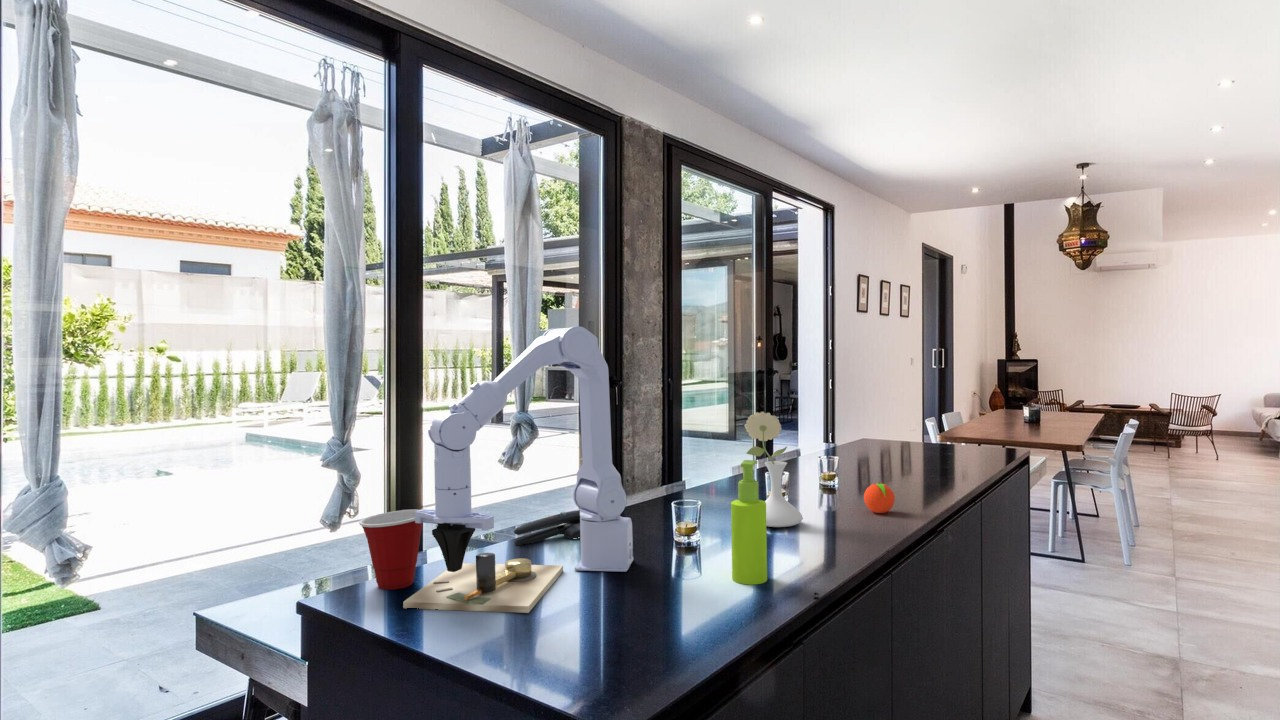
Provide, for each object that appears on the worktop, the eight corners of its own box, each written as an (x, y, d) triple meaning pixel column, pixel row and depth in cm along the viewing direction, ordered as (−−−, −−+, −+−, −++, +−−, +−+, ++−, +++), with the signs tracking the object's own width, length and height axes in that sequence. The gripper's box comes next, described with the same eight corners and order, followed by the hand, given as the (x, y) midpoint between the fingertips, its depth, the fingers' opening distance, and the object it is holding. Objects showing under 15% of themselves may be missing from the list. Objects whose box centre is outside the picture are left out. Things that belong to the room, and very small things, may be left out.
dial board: (563, 571, 133) (563, 564, 133) (528, 612, 112) (528, 604, 112) (456, 568, 136) (456, 561, 136) (403, 608, 115) (403, 600, 115)
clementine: (900, 517, 170) (900, 486, 170) (870, 517, 170) (869, 486, 170) (889, 509, 178) (889, 479, 178) (860, 509, 178) (859, 480, 178)
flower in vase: (810, 522, 166) (808, 410, 166) (791, 533, 157) (790, 415, 156) (756, 516, 173) (754, 408, 173) (735, 526, 164) (733, 413, 163)
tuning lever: (515, 568, 130) (514, 537, 130) (536, 571, 128) (535, 539, 128) (454, 597, 115) (453, 562, 115) (477, 601, 113) (476, 565, 113)
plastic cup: (375, 575, 133) (373, 507, 132) (435, 574, 132) (434, 507, 132) (349, 595, 122) (347, 522, 122) (415, 594, 121) (413, 521, 121)
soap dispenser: (770, 573, 129) (769, 458, 129) (764, 585, 123) (762, 465, 123) (737, 570, 131) (735, 457, 131) (728, 582, 125) (727, 463, 125)
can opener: (584, 530, 164) (583, 505, 164) (599, 537, 158) (598, 510, 158) (507, 542, 154) (506, 515, 154) (520, 550, 148) (519, 522, 148)
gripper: (401, 488, 121) (402, 571, 121) (473, 494, 114) (475, 582, 115) (430, 480, 127) (432, 560, 127) (501, 486, 121) (502, 569, 121)
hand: (454, 570), depth 121 cm, fingers closed
